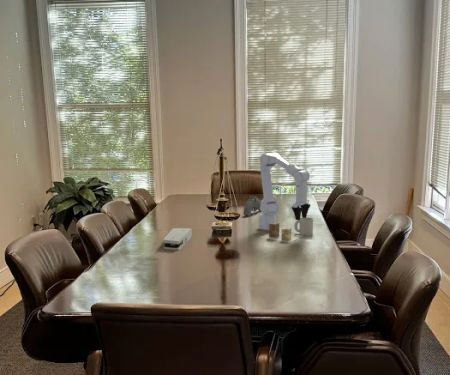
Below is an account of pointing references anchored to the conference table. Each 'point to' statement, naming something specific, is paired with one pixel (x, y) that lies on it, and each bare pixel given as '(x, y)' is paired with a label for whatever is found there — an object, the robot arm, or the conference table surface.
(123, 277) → the conference table surface
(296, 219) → the robot arm
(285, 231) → the oak block
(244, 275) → the conference table surface
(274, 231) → the walnut block
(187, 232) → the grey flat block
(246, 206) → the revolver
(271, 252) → the conference table surface
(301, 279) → the conference table surface
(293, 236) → the mat
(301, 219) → the cup
